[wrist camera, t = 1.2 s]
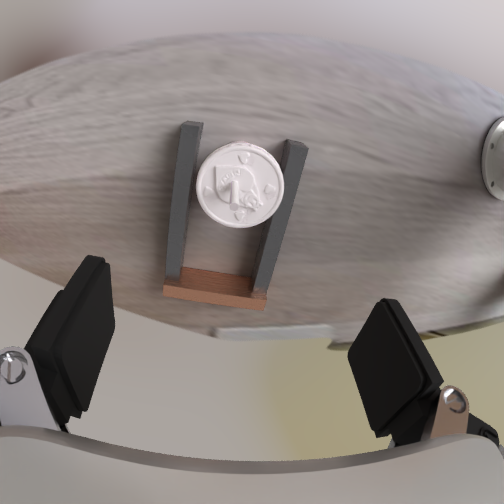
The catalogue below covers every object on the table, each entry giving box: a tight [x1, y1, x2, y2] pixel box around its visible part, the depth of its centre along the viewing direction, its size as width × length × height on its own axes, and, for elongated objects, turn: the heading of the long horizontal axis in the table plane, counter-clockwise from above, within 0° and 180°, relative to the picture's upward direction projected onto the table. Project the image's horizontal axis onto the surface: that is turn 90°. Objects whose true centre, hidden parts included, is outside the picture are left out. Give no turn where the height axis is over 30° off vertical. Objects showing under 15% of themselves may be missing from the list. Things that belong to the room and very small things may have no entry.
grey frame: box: [163, 121, 309, 311], centre depth 31 cm, size 12×19×4 cm, turn 168°
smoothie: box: [196, 141, 284, 228], centre depth 23 cm, size 6×6×14 cm
